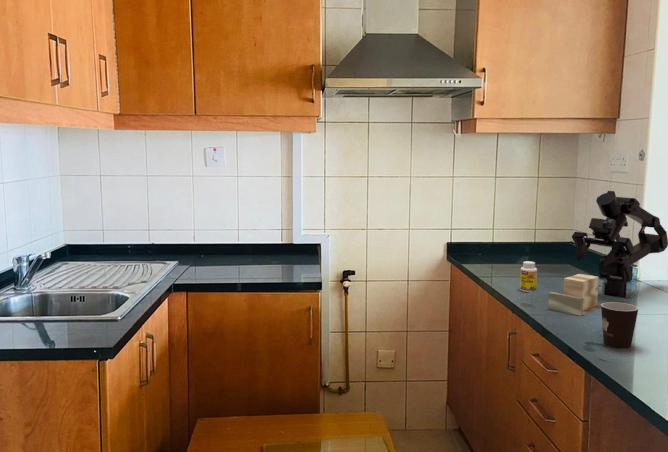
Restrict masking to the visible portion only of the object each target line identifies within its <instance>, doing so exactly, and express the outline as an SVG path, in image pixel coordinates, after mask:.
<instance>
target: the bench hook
mask: <svg viewBox="0 0 668 452" xmlns="http://www.w3.org/2000/svg"><path fill="white" fill-rule="evenodd" d="M547 308H548V310H551V311H556V312H560V313H565V314H569V315H574V316H578V317H579V316H580V317H581V316H583V315H586V314H588V313H592V312H593V311H594V312H595V310H599V309H601V304H600V303H597V305H596V306H594V307H591V308H589V309H586V310H583V298H580V297H575V296H570V295H565V294H563V293H559V292H555V291H554V292H553V291H550V292H548V307H547Z"/></svg>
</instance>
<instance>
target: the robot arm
mask: <svg viewBox="0 0 668 452" xmlns="http://www.w3.org/2000/svg"><path fill="white" fill-rule="evenodd" d="M595 202H596V204H597V207H598V208H599V210H600V214H602V216H603V217H605V218H596V217H591V219H590V222H589V225H588V228H589V229H591V230H592V233H591V234H592V236H594V237H591V236H588V233H587V232H584V231H574V232H573V233H572V235H571V238H572V242H573V243H574V245H575V247H576V248H577V250H576V258H575V259H576V262H579V261H580V260H581V259H582V258H583V257H584V256H585V255H586V254H587V252H588V251H589V250H588V249H589V248H590V247H591V245H597V246H600V247H603V248H611V249H610V250H609V252H608V253H607V254H606V255H603V257H602V258H601V259H600V261H599V262H598V267H597V268H598V273H599V278H600V279H604V280H603V282H602V286H601V287H602V288H601V295H603V296H608V297H609V296H610V297H614V298H615V297H616V298H620V299H626V300H628V297H627V287H628V286H627V283H630V282H631V281H632V279H633V272H632V270H631V269H630V267H631V266H633V264H635V263H637V262H639V261H640V260H642V259H643V258H645V257H647V256H648V255H649V254H659V253H663V252H664V251H666V249H667V248H668V233H667V231H666V230H665V228H664V227H663V226H662V225H661V219H660V218H659V217H658V216H656V215H653V214H652V213H650V212H649V211H647V210H646V209H644V208H643V207H641V206H640V205H641V202H639V201H638V200H637V199H636V198H635V197H626V196H625V197H624V196H617V195H616V192H615V191H614V190H607V192H605V193H602V194H601V195H599V196H597V197H596V200H595ZM628 218H630V219H632V220H634V221H635V222H636V223H638V224H640V229H639V231H638V233H637V236H638V243H637V244H635V245H634V244H633V243H632V240H631V239H630V237H622V236H621V234H620V233H621V230H622V229H623V228H624V227H626V228H627V227H628V226H629V223H628V220H627V219H628ZM646 228H653V229H654V231H655V233H656V234H655V233H654V234H653V233H648V232H647V233H646V232H645V229H646Z"/></svg>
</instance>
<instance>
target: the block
mask: <svg viewBox="0 0 668 452" xmlns="http://www.w3.org/2000/svg"><path fill="white" fill-rule="evenodd" d="M599 278H600V276H596V275H592V274H591V275H589V274H583V273H577V274H574V275H572V276H568V277H564V279H563V293H562V294H565V295H570V296H575V297H580V298H583V310H586V309H589V308H591V307H594V306H596V305H597V304H598V295H599V293H598V292H599Z"/></svg>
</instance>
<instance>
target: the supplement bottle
mask: <svg viewBox="0 0 668 452" xmlns="http://www.w3.org/2000/svg"><path fill="white" fill-rule="evenodd" d="M537 279H538V268H537V267H536V262H534V261H528V260H526V261H523V263H522V267H520V275H519V290H520V291H521V292H524V293H531V292H535V291H537V283H538V280H537Z"/></svg>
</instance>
